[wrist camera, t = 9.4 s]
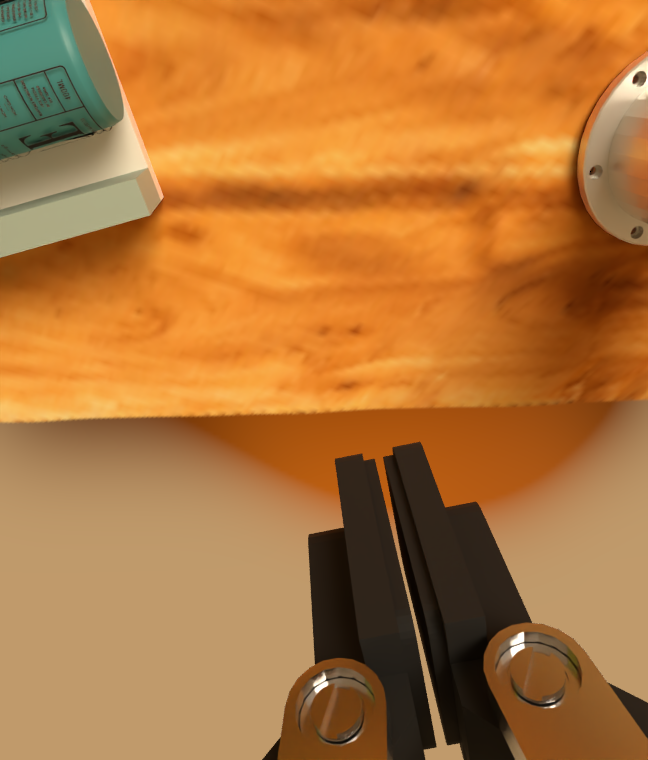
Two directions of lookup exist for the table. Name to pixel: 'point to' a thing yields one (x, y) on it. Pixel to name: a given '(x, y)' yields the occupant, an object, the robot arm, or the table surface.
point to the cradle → (76, 184)
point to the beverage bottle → (53, 76)
